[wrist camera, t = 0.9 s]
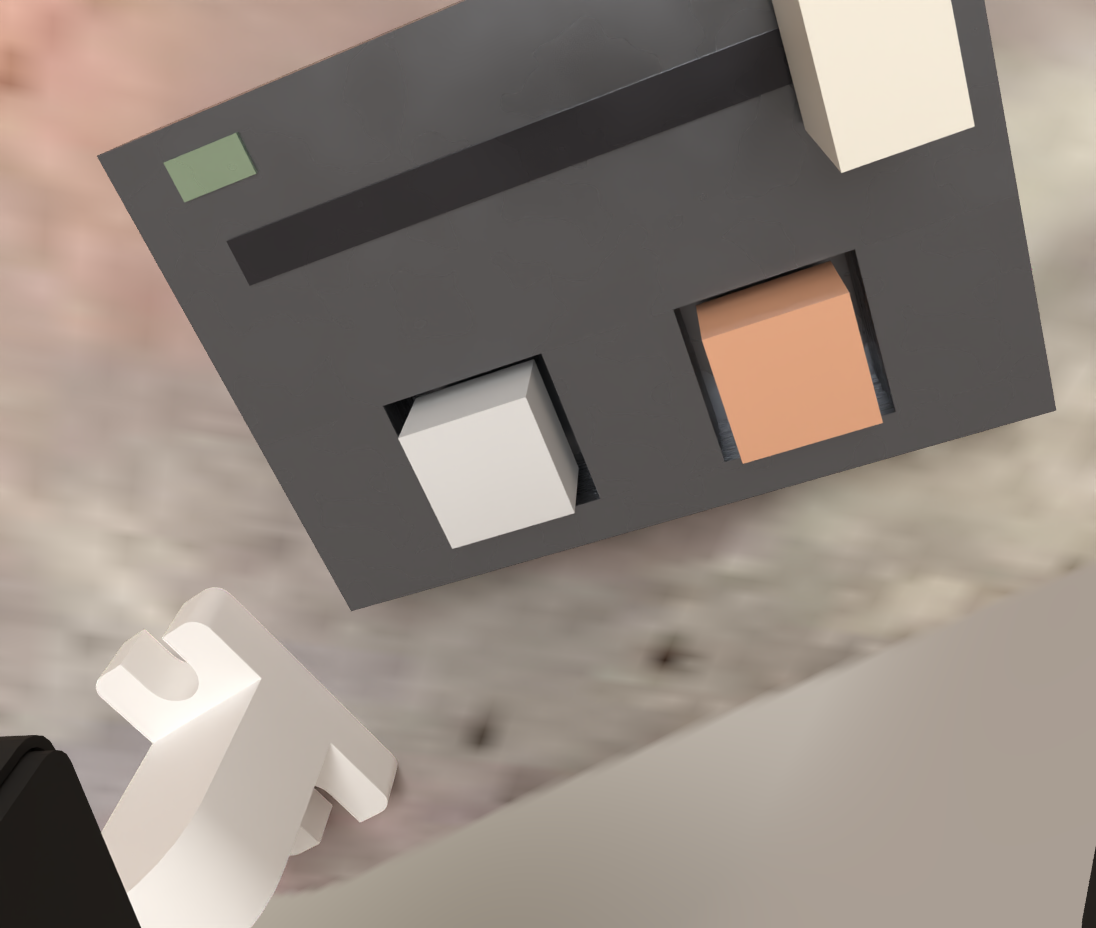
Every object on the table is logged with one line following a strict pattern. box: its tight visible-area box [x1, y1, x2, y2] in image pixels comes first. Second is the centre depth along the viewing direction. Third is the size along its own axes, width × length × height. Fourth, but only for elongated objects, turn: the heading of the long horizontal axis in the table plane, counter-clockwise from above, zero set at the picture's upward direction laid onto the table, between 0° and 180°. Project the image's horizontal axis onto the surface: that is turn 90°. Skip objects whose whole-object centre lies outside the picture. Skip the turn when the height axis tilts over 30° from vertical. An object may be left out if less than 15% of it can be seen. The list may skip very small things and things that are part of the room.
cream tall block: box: [772, 0, 975, 173], centre depth 20 cm, size 2×3×4 cm
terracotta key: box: [696, 261, 883, 464], centre depth 26 cm, size 4×4×2 cm
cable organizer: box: [96, 587, 398, 928], centre depth 33 cm, size 5×10×10 cm, turn 36°
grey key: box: [398, 359, 579, 549], centre depth 28 cm, size 4×4×2 cm
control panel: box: [97, 0, 1056, 611], centre depth 27 cm, size 20×14×4 cm
